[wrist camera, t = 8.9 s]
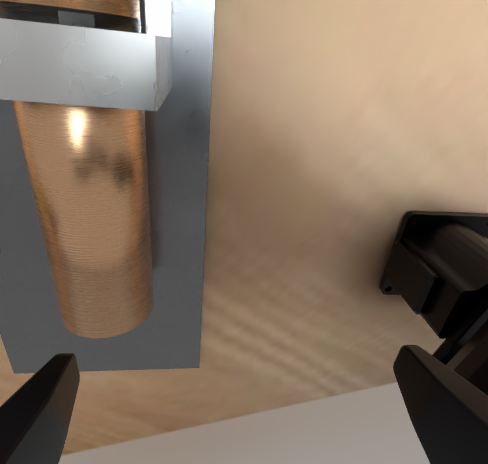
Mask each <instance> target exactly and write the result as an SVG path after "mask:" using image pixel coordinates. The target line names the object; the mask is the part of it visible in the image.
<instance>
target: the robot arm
mask: <svg viewBox="0 0 488 464" xmlns="http://www.w3.org/2000/svg"><path fill="white" fill-rule="evenodd" d="M413 218H415V219H414V220H413V221H411V220H412V219H413ZM386 287H387V288H386ZM379 289H380V290H381V292H382V293H383V294H386V295H401V296H402V297H403V298H404V300H405V301H406V302H407V304H408V305H409V306H410V307H411V309H412V310H413V311H414V312H415V313H416V314H421V316H422V317H423V318H424V319H425V321H426V322H427V323H428V324H429V326H430V327H431V328H432V329H433V331H434V332H435V333H436V334H437V336H438V337H439V338H441V339H445V338H446V340H445V341H444V342H443V343H442V344H441V345H440V346H439V348H438V349H437V350H436V351H435V352H434V353H433V355H430V354H429V353H428V352H426V351H425V350H423V349H422V348H421V347H419V346H417V345H404V346H402V347H401V349H400V351H399V353H398V355H397V358H396V360H395V362H394V366H393V369H394V374H395V377H396V379H397V382H398V385H399V388H400V391H401V393H402V396H403V399H404V402H405V405H406V408H407V410H408V413H409V416H410V419H411V421H412V424H413V426H414V428H415V431H416V433H417V436H418V438H419V440H420V442H421V444H422V446H423V448H424V451H425V453H426V455H427V457H428V459H429V462H430V464H488V214H468V213H442V212H417V211H413V212H409V213H407V214H406V215H405V217H404V219H403V222H402V224H401V227H400V230H399V233H398V236H397V238H396V241H395V244H394V245H393V248H392V251H391V254H390V256H389V259H388V262H387V265H386V268H385V270H384V274H383V277H382V280H381V282H380V285H379ZM79 380H80V374H79V369H78V365H77V360H76V356H75V354H74V353H58V354H56V355H55V356H53V357H52V358H51V359H50V360H49V361H48V362H47V363H46V364H45V365H44V366H43V367H42V368H41V369H40V370H39V371H37V372H36V373H35V374H34V375H33V376H32V377H31V378H30V379H29V380H28V381H27V382H26V383H25V384H24V385H23V386H22V387H21V388H20V389H18V390H17V391H16V392H15V393H14V394H13V395H12V396H11V397H10V398H9V399H8V400H7V401H6V402H5V403H4V404H3V405H2V406H0V464H58V463H59V460H60V457H61V454H62V451H63V448H64V444H65V440H66V436H67V432H68V428H69V424H70V419H71V415H72V411H73V407H74V402H75V398H76V394H77V390H78V386H79Z"/></svg>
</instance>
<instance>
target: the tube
mask: <svg viewBox="0 0 488 464" xmlns="http://www.w3.org/2000/svg"><path fill="white" fill-rule="evenodd" d="M0 18H3V19H12V20H21V21H30V22H40V23H49V24H58V25H67V26H77V27H86V28H95V29H104V30H114V31H123V32H132V33H141V19H140V5H139V0H0ZM12 105H13V109H14V114H15V118H16V122H17V127H18V131H19V136H20V140H21V144H22V149H23V153H24V157H25V162H26V166H27V171H28V175H29V179H30V184H31V188H32V193H33V197H34V201H35V206H36V210H37V214H38V219H39V223H40V228H41V232H42V236H43V241H44V245H45V250H46V254H47V258H48V263H49V267H50V272H51V276H52V280H53V285H54V289H55V293H56V298H57V302H58V307H59V311H60V315H61V320H62V322H63V325H64V326H65V327H66V328H67V329H68V330H69V331H70V332H72V333H74V334H76V335H78V336H82V337H86V338H108V337H113V336H117V335H120V334H123V333H126V332H128V331H130V330H132V329H134V328H136V327H137V326H139V325H140V324H141V323H142V322H144V321H145V320H146V318H147V317H148V316H149V315H150V313H151V311H152V308H153V304H154V299H153V278H152V257H151V236H150V215H149V194H148V173H147V152H146V131H145V110H133V109H119V108H106V107H93V106H80V105H67V104H54V103H41V102H28V101H15V100H12Z"/></svg>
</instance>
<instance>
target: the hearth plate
mask: <svg viewBox="0 0 488 464" xmlns="http://www.w3.org/2000/svg"><path fill="white" fill-rule="evenodd" d="M139 5H140V19H141V34H146V20H145V0H139ZM214 12H215V0H172V33H173V87H172V89H171V90H170V92H169V93H168V95H167V97H166V98H165V100H164V101H163V103H162V105H161V106H160V108H159V109H158V111H146V110H145V131H146V152H147V173H148V194H149V215H150V236H151V257H152V278H153V299H154V304H153V308H152V311H151V313H150V315H149V316H148V317H147V318H146V320H145V321H144V322H142V323H141V324H140V325H139V326H137V327H136V328H134V329H132V330H130V331H128V332H126V333H123V334H120V335H117V336H113V337H108V338H86V337H82V336H78V335H76V334H74V333H72V332H70V331H69V330H68V329H67V328H66V327H65V326H64V325H63V322H62V320H61V315H60V311H59V307H58V302H57V298H56V293H55V289H54V285H53V280H52V276H51V272H50V267H49V263H48V258H47V254H46V250H45V245H44V241H43V236H42V232H41V228H40V223H39V219H38V214H37V210H36V206H35V201H34V197H33V193H32V188H31V184H30V179H29V175H28V171H27V166H26V162H25V157H24V153H23V149H22V144H21V140H20V136H19V131H18V127H17V122H16V118H15V114H14V109H13V105H12V100H2V99H0V335H1V338H2V341H3V343H4V346H5V349H6V352H7V355H8V357H9V360H10V363H11V366H12V369H13V372H14V373H36V372H37V371H39V370H40V369H41V368H42V367H43V366H44V365H45V364H46V363H47V362H48V361H49V360H50V359H51V358H52V357H53V356H55V355H56V354H58V353H74V354H75V356H76V360H77V365H78V369H79V371H110V370H143V369H176V368H199V361H200V338H201V315H202V291H203V268H204V245H205V222H206V198H207V175H208V152H209V129H210V105H211V82H212V59H213V36H214Z"/></svg>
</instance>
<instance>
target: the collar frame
mask: <svg viewBox="0 0 488 464" xmlns="http://www.w3.org/2000/svg"><path fill="white" fill-rule="evenodd" d="M145 20H146V34H141V33H132V32H123V31H114V30H104V29H95V28H86V27H77V26H67V25H58V24H49V23H40V22H30V21H21V20H12V19H3V18H0V99H2V100H15V101H28V102H41V103H54V104H67V105H80V106H93V107H106V108H119V109H133V110H146V111H158V109H159V108H160V106H161V105H162V103H163V101H164V100H165V98H166V97H167V95H168V93H169V92H170V90H171V89H172V87H173V33H172V0H145Z"/></svg>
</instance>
